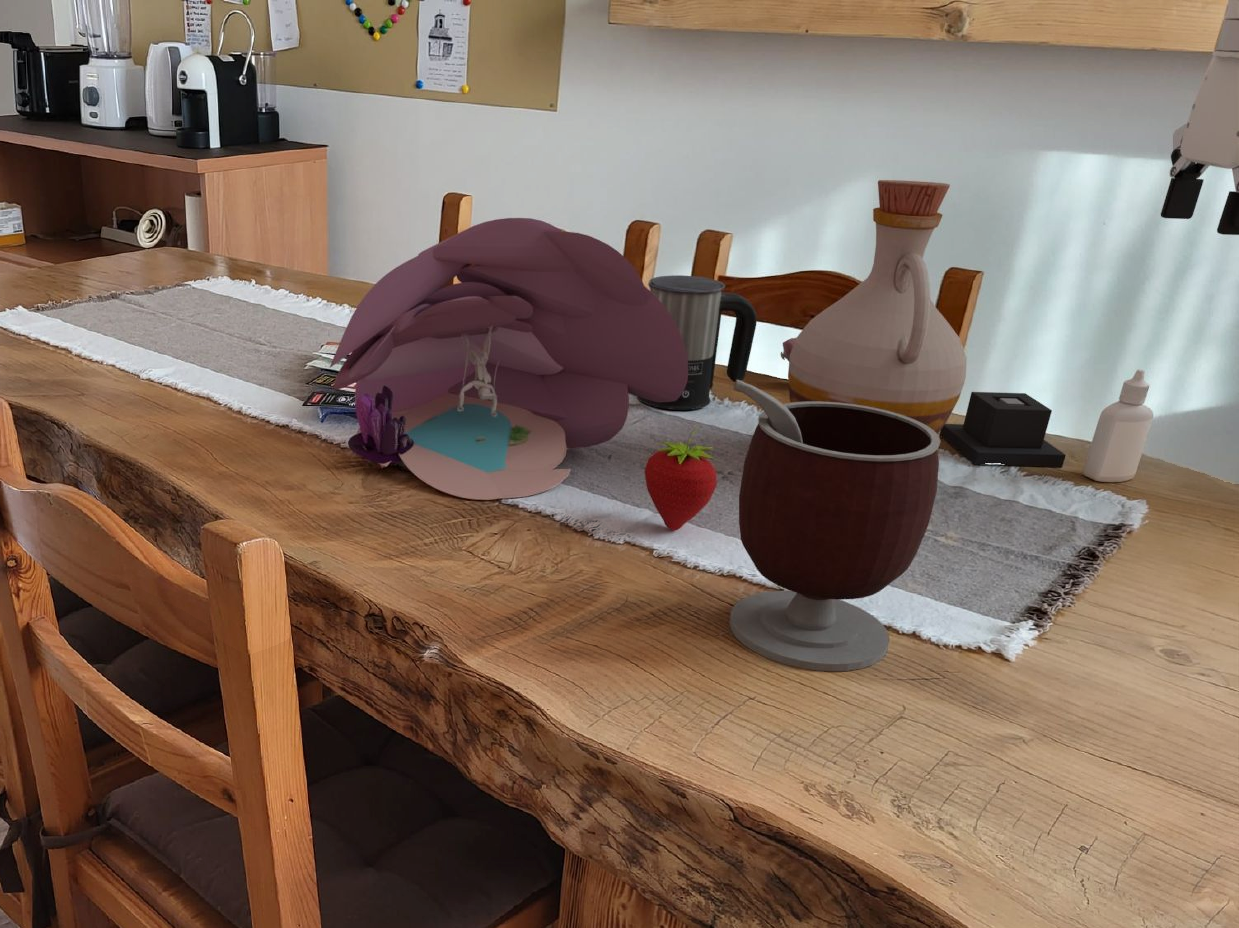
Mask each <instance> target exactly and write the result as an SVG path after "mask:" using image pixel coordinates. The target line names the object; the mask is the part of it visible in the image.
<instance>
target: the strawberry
mask: <svg viewBox="0 0 1239 928" xmlns="http://www.w3.org/2000/svg"><path fill="white" fill-rule="evenodd" d="M696 429H697V428H696V427H694V429H693V430H692V433H691V435H690V438H689V440H688V442H687V444H684V443H683V442H681V441H679V442H678V443H676V442H675V443H674V442H668V441H664V440H663V441H661V443H662V444H663V445H665V446H666V447H667V448H658V449H657V451H656V452H654V453H653V454H652V455H651V456H649V458H648V459H647V462H646V464H645V468H644V478H645V486H646V490H647V492H648V494H649V497H650V499H651V501H652V503H653V505H654V507H655V509H656V511H657V512H658V514H659V515H660V517H661V519H662V521H663V523H664V525H665V527H667V529H669V530H671V531H678V530H680V529H681V528H682V527H683V526H684V525H685V524H686V523H688V522H689V521H690V520H692V519H693V518H694V517H696V516H697V515H698V514H699V513H700V512H701V511H702V510H703V509H704V508H705V507H706V506H707V505H708V504H709V502H710V500H711V499H712V496H713V495H714V493H715V490H716V488H717V487H718V486H717V485H718V480H717V479H718V478H717V471H716V470H717V469H716V468H715V467H714V466H713V464H712V462H711V461H710V460H715V458H714V457H713V456H712V455H709V454H708V453H706V452H705V451H710V450H714V447H710V446H703V445H702V446H701V445H695V446H693V447H692V448H691V447H690V443H691V440H692V438H693V436H694V433H695V431H696Z"/></svg>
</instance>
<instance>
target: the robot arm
mask: <svg viewBox="0 0 1239 928" xmlns="http://www.w3.org/2000/svg"><path fill="white" fill-rule="evenodd" d="M1211 57H1212V58H1211V60H1210V63H1209V64H1208V67H1207V69H1206V71H1205V74H1204V76H1203V78H1202V80H1201V83H1200V86H1199V88H1198V90H1197V93H1196V96H1195V98H1194V101H1193V104H1192V107H1191V110H1190V113H1189V116H1188V118H1187V121H1186V124H1183V125H1182V126H1180V127H1179V128H1176V130H1174V132H1173V134H1172V151H1171V154H1170V160H1171V167H1170V169H1169V177H1170V181H1169V185H1168V188H1167V191H1166V195H1165V198H1164V202H1163V204H1162V209H1161V211H1160V218H1163V219H1173V220H1190V219H1192V218H1193V216H1194V213H1195V209H1196V208H1197V207H1196V206H1197V204H1198V200H1199V196H1200V193H1201V191H1202V187H1203V185H1204V180H1205V179H1202V178H1200V177H1201V176H1202V175H1203V174H1204V173H1205V172H1206V170H1207V169H1208V168H1209V167H1216V168H1222V169H1227V170H1229V169H1230V170H1231V172H1232V177H1233V183H1234V188H1235V189H1234V190H1235V191H1231V190H1229V191H1228V194H1227V196H1226V200H1225V203H1224V206H1223V210H1222V213H1221V216H1220V219H1219V222H1218V225H1217V227H1216V232H1217V234H1219V235H1222V236H1223V235H1226V236H1228V235H1229V236H1239V0H1228V1H1227V5H1226V7H1225V10H1224V13H1223V19H1222V21H1221V26H1220V28H1219V31H1218V33H1217V38H1216V42H1215V44H1214V48H1213V51H1212V55H1211Z"/></svg>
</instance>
